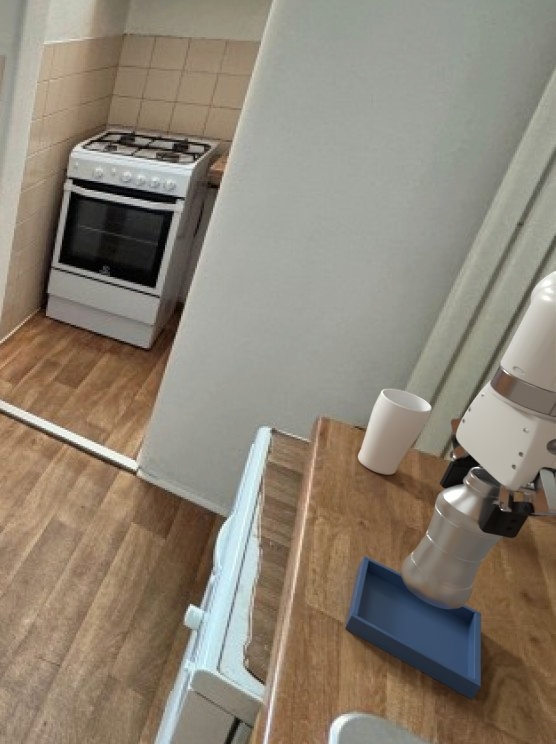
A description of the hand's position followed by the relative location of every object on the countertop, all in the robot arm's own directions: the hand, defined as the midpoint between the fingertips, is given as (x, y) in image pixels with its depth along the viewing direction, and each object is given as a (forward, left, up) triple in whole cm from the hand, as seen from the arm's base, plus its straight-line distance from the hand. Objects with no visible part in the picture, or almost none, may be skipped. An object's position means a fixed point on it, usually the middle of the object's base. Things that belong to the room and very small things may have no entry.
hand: (475, 509), depth 75 cm
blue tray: (0, 0, -22) cm, 22 cm away
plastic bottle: (0, 0, -15) cm, 15 cm away
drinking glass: (-13, -36, -22) cm, 44 cm away
